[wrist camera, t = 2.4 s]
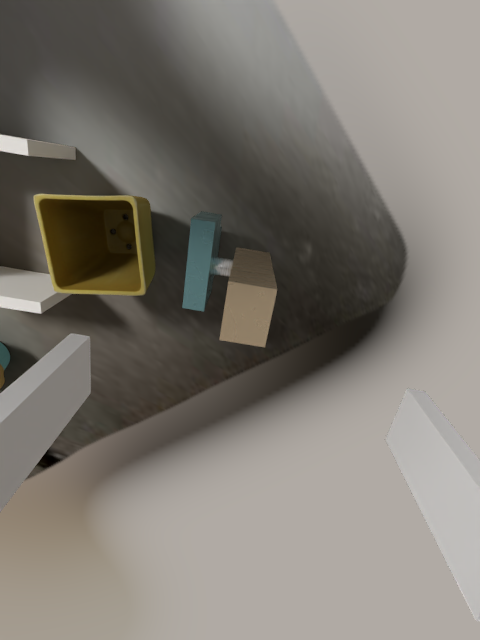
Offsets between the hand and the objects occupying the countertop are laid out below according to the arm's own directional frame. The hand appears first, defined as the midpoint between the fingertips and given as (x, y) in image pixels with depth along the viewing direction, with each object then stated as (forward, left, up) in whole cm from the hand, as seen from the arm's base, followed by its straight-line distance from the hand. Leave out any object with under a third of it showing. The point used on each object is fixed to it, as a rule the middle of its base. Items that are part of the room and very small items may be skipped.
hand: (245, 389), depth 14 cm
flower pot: (0, -14, -27) cm, 30 cm away
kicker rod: (0, -2, -25) cm, 25 cm away
